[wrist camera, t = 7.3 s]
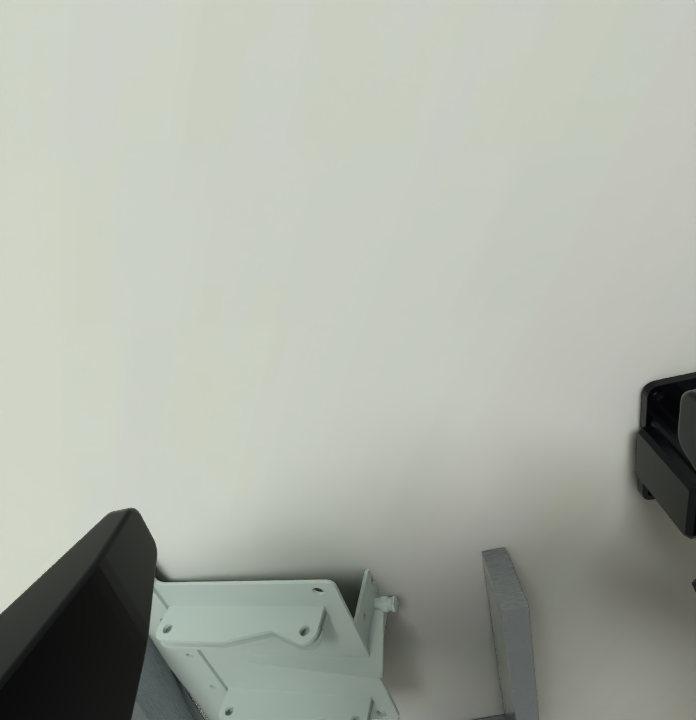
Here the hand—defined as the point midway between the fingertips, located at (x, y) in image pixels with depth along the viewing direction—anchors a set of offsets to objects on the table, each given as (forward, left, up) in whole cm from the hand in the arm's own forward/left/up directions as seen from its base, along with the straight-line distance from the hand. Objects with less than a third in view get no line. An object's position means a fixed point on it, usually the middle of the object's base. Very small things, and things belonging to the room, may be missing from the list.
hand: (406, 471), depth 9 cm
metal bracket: (+9, +19, -14) cm, 25 cm away
